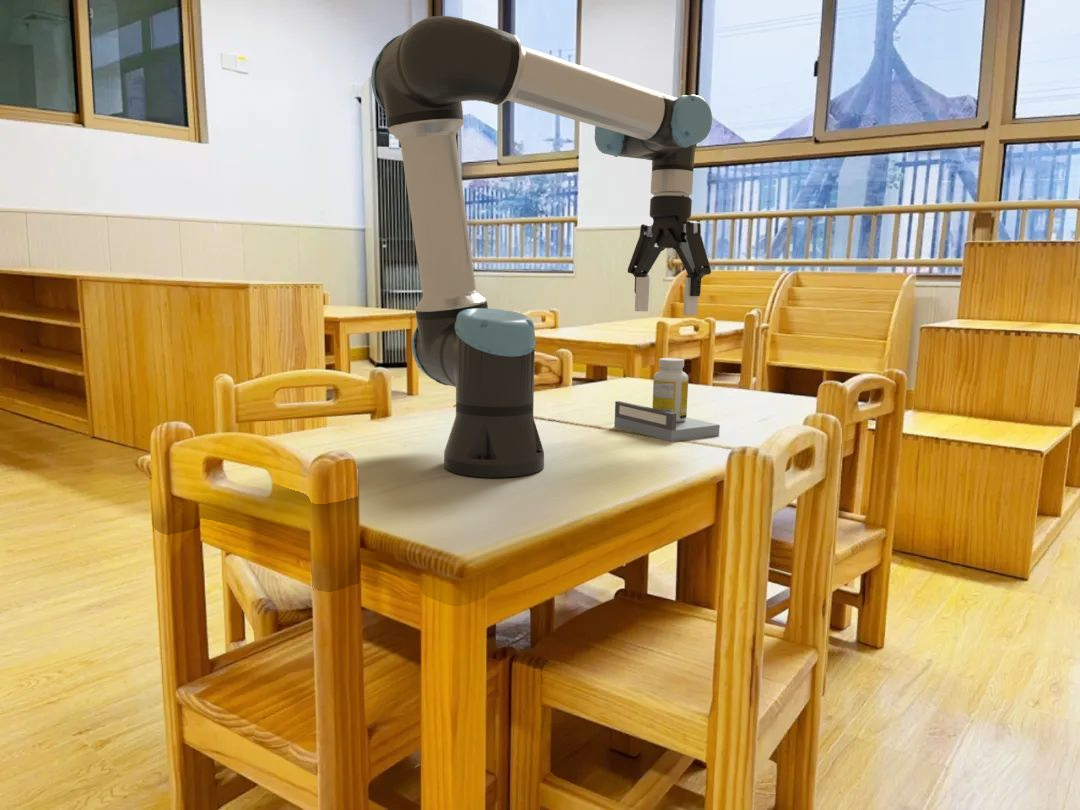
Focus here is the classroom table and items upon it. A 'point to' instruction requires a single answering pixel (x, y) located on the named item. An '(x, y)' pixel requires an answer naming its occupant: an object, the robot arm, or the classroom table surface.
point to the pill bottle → (671, 388)
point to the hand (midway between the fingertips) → (664, 313)
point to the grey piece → (660, 423)
